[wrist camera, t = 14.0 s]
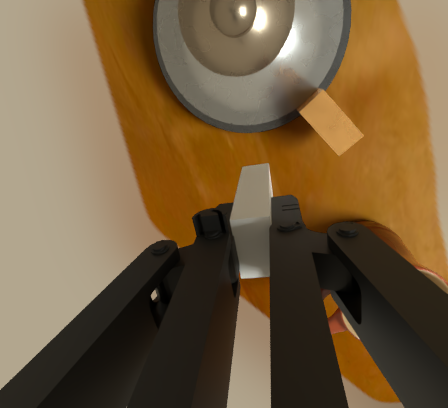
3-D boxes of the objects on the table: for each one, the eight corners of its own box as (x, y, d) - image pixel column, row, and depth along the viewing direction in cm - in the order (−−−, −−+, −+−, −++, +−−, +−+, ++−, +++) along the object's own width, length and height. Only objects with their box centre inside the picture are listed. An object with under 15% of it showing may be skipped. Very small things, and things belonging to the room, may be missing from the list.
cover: (172, 25, 24) (147, 13, 19) (239, -68, 21) (231, -111, 16) (239, 96, 26) (233, 101, 21) (312, 18, 23) (324, 2, 18)
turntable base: (136, -53, 25) (128, -61, 24) (343, -117, 22) (348, -130, 21) (182, 142, 32) (178, 145, 30) (348, 114, 28) (353, 116, 27)
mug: (380, 196, 31) (428, 247, 22) (415, 256, 33) (473, 326, 24) (282, 248, 35) (288, 310, 26) (320, 298, 37) (337, 372, 28)
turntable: (130, 38, 27) (109, 32, 23) (248, -138, 21) (245, -179, 18) (280, 188, 30) (281, 203, 27) (414, 74, 25) (438, 73, 21)
